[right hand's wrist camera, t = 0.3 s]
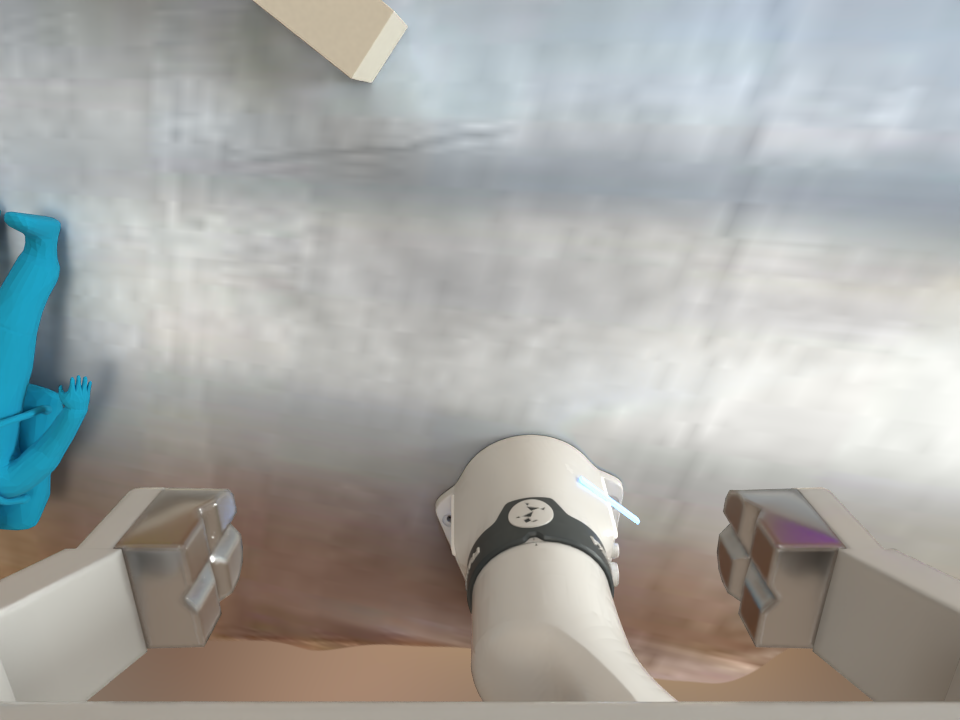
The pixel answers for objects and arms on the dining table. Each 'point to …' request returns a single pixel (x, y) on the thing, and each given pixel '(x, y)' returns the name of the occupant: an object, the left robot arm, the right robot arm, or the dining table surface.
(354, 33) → the bar
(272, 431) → the dining table surface
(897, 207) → the dining table surface
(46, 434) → the toy
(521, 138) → the dining table surface
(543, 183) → the dining table surface
